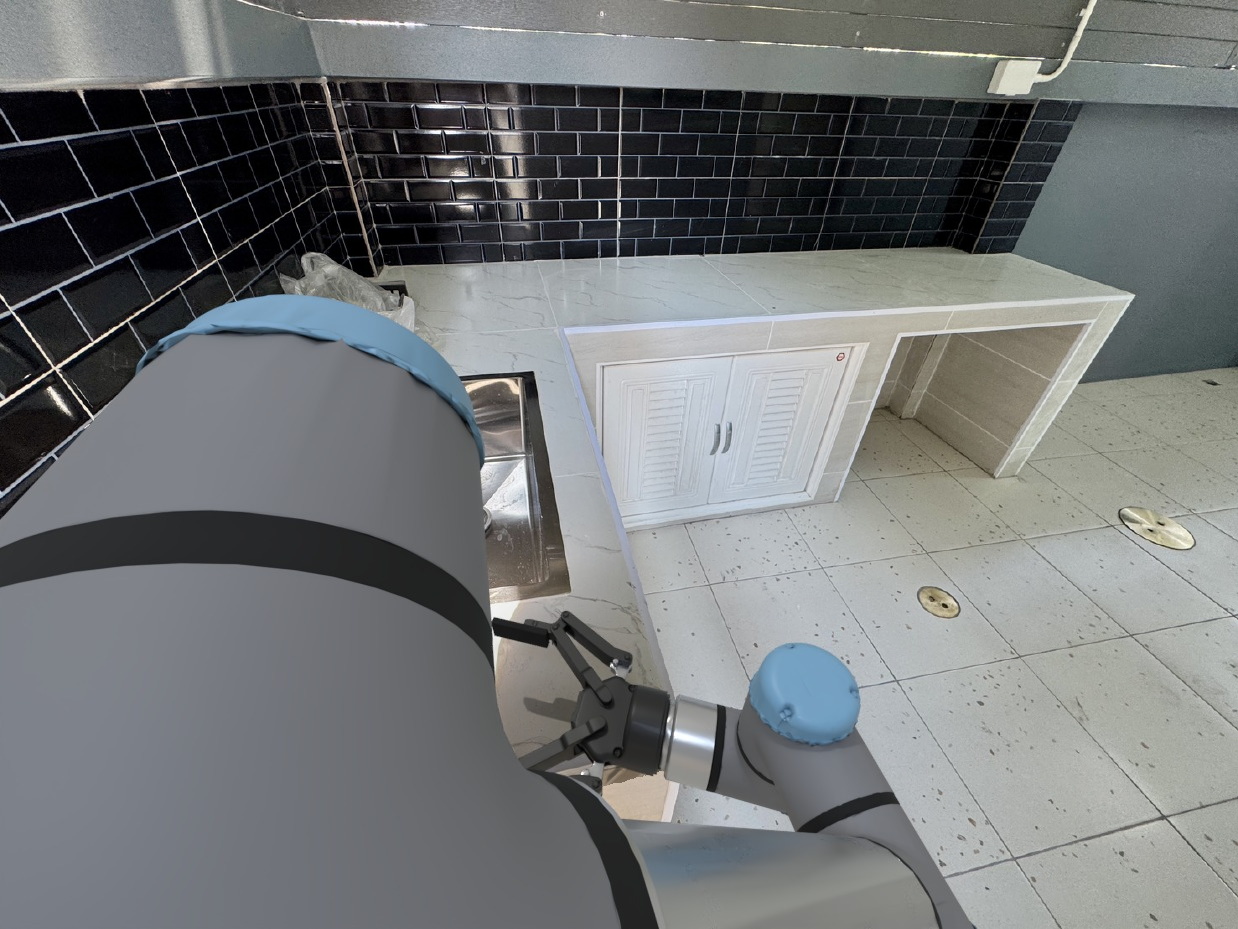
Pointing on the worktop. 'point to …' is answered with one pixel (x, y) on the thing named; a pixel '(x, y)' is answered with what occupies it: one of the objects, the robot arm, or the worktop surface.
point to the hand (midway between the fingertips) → (466, 682)
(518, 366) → the worktop surface
